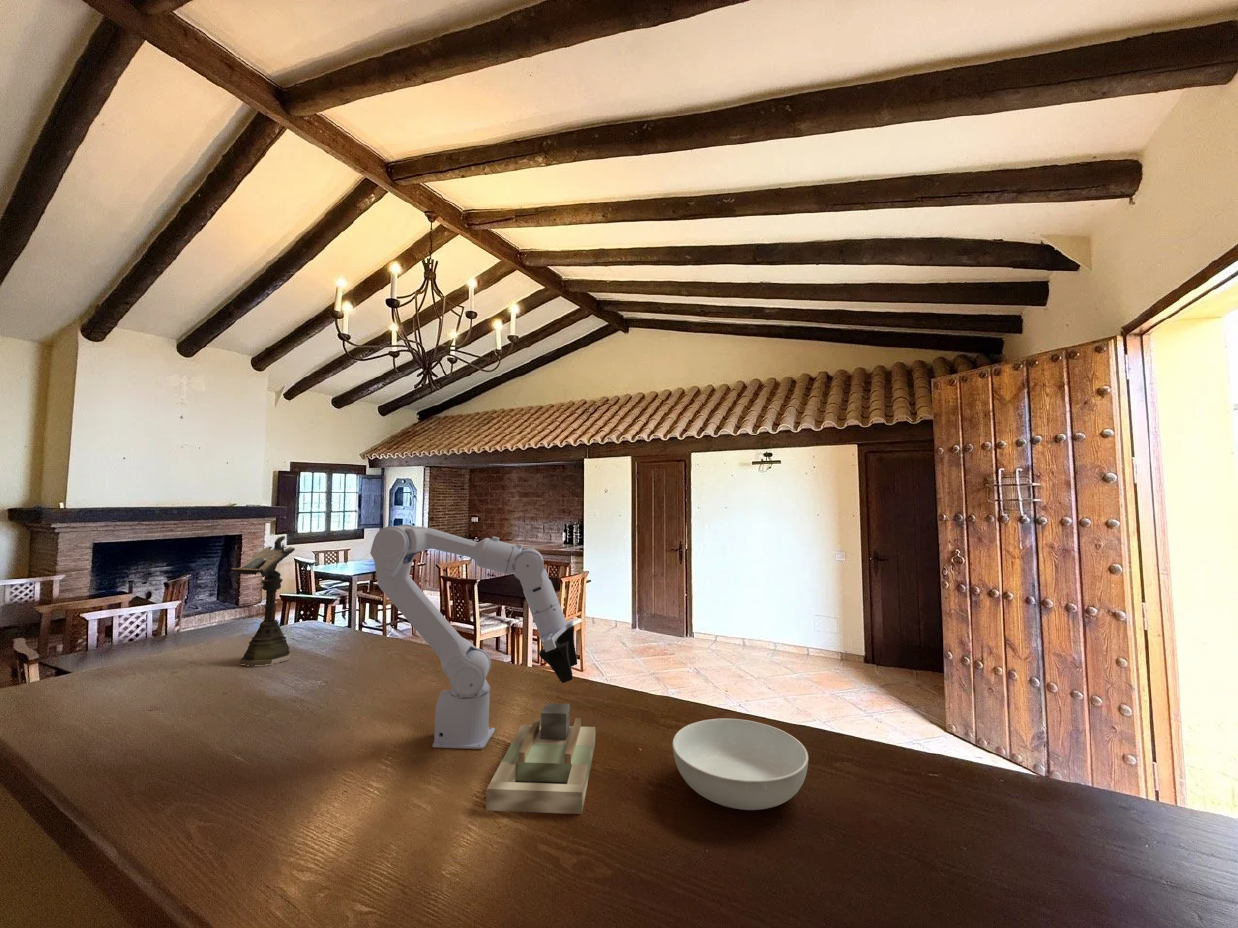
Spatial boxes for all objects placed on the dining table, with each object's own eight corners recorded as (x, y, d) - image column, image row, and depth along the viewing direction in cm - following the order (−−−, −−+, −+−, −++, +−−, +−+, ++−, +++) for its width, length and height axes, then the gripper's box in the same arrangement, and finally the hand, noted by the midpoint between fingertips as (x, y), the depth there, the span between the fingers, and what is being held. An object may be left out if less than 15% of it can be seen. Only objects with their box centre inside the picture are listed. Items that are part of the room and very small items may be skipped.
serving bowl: (668, 756, 91) (668, 716, 92) (786, 759, 91) (785, 719, 91) (677, 829, 71) (677, 777, 71) (830, 834, 70) (829, 781, 71)
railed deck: (486, 810, 74) (487, 777, 75) (521, 741, 96) (521, 716, 97) (581, 813, 74) (582, 781, 74) (595, 743, 96) (595, 718, 96)
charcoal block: (540, 739, 91) (541, 712, 91) (545, 728, 95) (545, 703, 95) (565, 739, 90) (566, 713, 91) (569, 728, 95) (569, 703, 95)
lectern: (245, 675, 131) (255, 537, 133) (211, 669, 135) (221, 536, 138) (305, 657, 146) (312, 534, 149) (272, 652, 150) (280, 533, 153)
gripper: (558, 609, 93) (585, 680, 92) (568, 591, 107) (592, 652, 107) (522, 623, 93) (549, 694, 93) (537, 603, 108) (561, 664, 107)
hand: (570, 672), depth 100 cm, fingers open, 7 cm apart
